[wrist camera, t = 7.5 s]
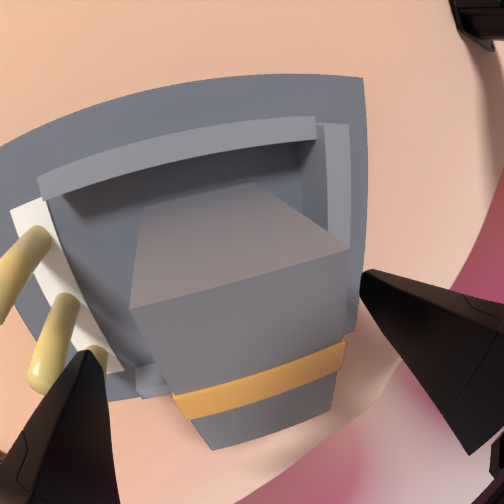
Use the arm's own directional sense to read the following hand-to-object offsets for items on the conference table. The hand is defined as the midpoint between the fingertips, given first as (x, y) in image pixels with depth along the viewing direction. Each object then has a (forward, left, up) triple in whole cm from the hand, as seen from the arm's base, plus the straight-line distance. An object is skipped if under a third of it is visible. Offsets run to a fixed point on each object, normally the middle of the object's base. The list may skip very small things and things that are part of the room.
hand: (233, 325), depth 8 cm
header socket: (+1, 0, -5) cm, 5 cm away
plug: (0, 0, -4) cm, 4 cm away
